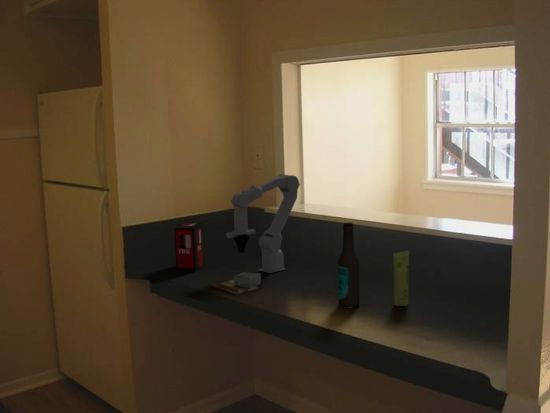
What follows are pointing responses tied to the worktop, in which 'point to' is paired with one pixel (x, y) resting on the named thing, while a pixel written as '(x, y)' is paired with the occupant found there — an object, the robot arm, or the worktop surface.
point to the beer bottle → (348, 271)
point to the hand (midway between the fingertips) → (241, 252)
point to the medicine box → (247, 280)
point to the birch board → (232, 287)
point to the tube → (401, 278)
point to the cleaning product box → (189, 246)
